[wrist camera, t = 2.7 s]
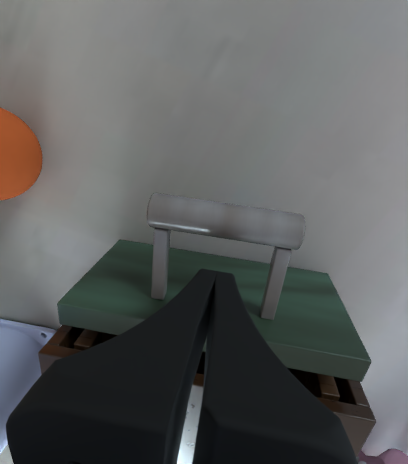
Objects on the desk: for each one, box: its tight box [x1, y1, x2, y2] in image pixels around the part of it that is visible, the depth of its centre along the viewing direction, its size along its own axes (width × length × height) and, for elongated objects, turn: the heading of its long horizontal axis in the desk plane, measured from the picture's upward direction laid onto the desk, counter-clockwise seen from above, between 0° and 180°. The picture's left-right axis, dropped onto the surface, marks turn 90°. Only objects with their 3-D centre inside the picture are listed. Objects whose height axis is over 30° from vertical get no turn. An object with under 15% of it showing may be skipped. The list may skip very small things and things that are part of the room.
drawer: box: [57, 193, 371, 401], centre depth 16 cm, size 17×13×7 cm
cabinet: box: [38, 325, 376, 464], centre depth 18 cm, size 13×14×8 cm
